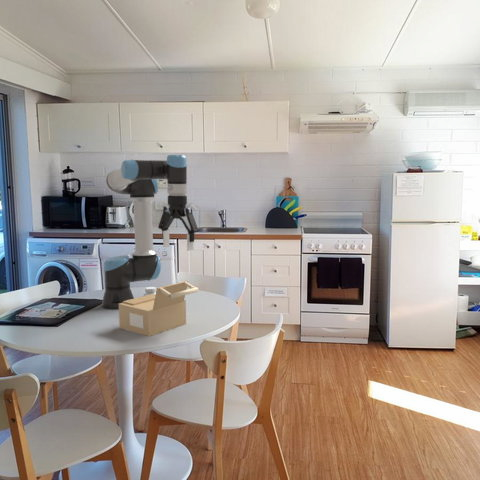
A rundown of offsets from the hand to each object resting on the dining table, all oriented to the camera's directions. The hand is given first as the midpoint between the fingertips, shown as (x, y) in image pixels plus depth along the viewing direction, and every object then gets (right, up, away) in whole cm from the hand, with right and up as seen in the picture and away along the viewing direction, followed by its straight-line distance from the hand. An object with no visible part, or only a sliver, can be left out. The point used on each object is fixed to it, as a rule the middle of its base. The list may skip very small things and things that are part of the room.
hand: (178, 248), depth 184 cm
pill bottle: (-15, -30, +24) cm, 42 cm away
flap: (-3, -18, -3) cm, 18 cm away
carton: (-11, -32, +6) cm, 34 cm away
